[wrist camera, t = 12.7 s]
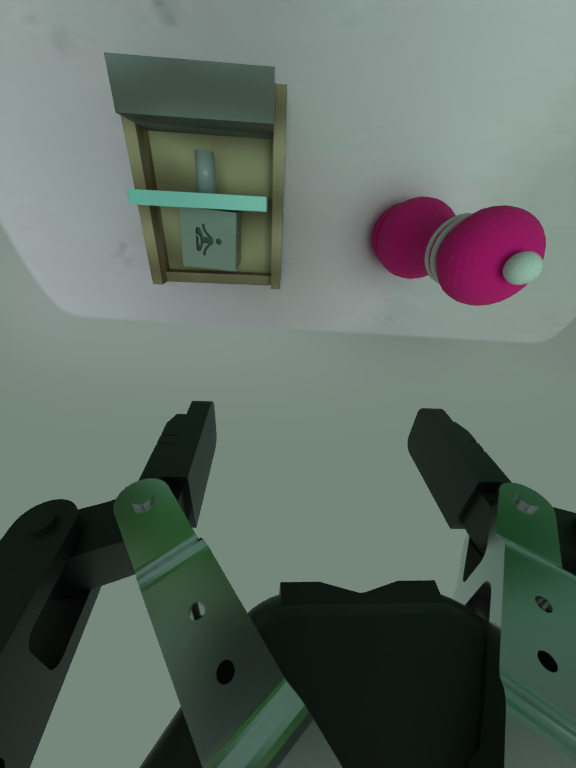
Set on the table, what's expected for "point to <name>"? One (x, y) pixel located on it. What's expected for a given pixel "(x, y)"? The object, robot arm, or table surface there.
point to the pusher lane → (204, 132)
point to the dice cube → (211, 238)
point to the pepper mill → (462, 248)
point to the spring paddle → (199, 192)
